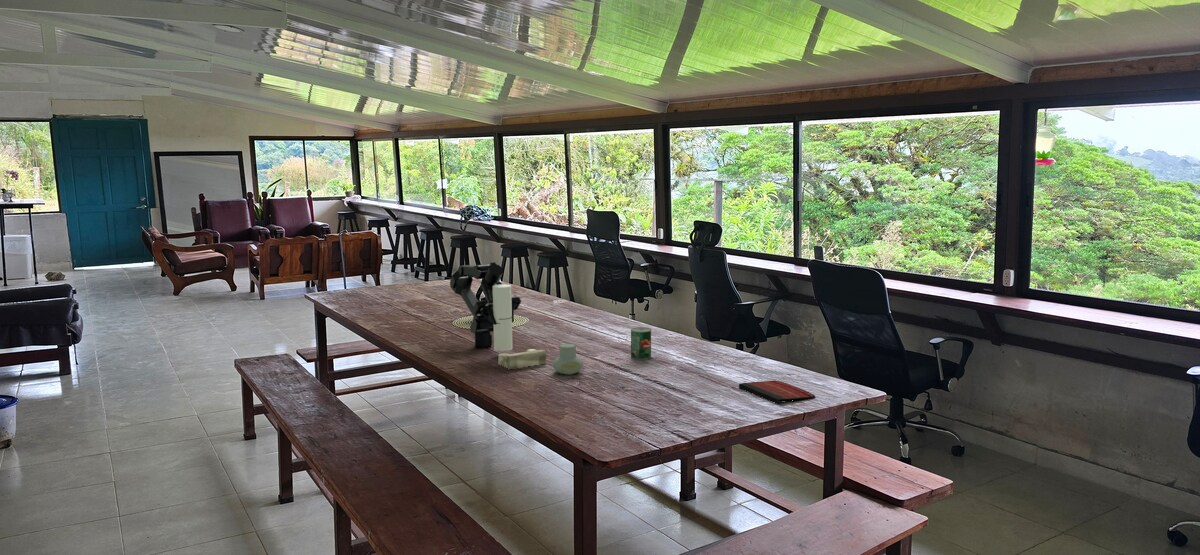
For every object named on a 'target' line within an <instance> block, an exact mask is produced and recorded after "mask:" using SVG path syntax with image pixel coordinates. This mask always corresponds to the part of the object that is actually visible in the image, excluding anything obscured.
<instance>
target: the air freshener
mask: <svg viewBox="0 0 1200 555" xmlns="http://www.w3.org/2000/svg"><path fill="white" fill-rule="evenodd" d="M583 367H584V362H583V360H582V359H581V358H580V357H579V356H577V346H576V345H575V344H573V343H562V344H560V345H559V356H558V357H556V358H555V359H554V360H553V362H552V368H553V370H554V371H555V372H557V373H559V374H562V375H566V376H570V375H572V376H573V375H574V374H577V373H578V372H580V371H581V370H582V369H583Z"/></svg>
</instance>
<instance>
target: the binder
mask: <svg viewBox="0 0 1200 555" xmlns="http://www.w3.org/2000/svg"><path fill="white" fill-rule="evenodd" d="M740 388H741V389H740ZM738 389H740V390H742V389H744V390H746V391H745V392H747V391H748V393H749V392H750V393H749V394H752V393H753V394H752V395H754V394H755V396H757V397H759V396H760V397H759V398H761V397H763V398H762V399H764V398H765V399H764V400H766V399H767V400H766V401H769V400H770V401H769V402H771V401H772V402H771V403H773V402H775V403H774V404H776V403H777V404H776V405H778V404H779V405H780V402H779V401H787V402H791V401H792V400H793V401H792V402H791V403H796V402H801V401H806V400H812V399H815V398H816V395H815V394H814V393H812V392H810V391H807V390H805V389H802V388H800V387H797V386H794V385H791V384H789V383H787V382H784V381H780V380H765V381H751V382H741V383H739V384H738ZM744 390H743V391H744Z"/></svg>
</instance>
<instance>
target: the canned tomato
mask: <svg viewBox="0 0 1200 555" xmlns="http://www.w3.org/2000/svg"><path fill="white" fill-rule="evenodd" d="M650 357H651V358H652V329H651V328H650V327H641V326H640V327H633V328H631V329H630V359H632V358H634V359H633V360H636V359H646V360H649V359H648V358H650ZM651 358H650V359H651Z"/></svg>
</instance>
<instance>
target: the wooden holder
mask: <svg viewBox="0 0 1200 555" xmlns="http://www.w3.org/2000/svg"><path fill="white" fill-rule="evenodd" d="M546 355H547V352H546V350H545V349H535V348H530V349H526V351H523V352H517V353H511V354H510V353H507V352H503V353H499V354H498V359H497V360H498V365H499V364H500V365H499V366H501V365H502V366H501V367H503V366H504V367H503V368H505V367H506V368H505V369H507V368H508V370H509V369H513V370H517V369H516V368H519V369H523V368H522V367H525V368H529V367H528V366H531V367H535V366H534V365H537V366H542V365H541V364H543V365H546V364H547V356H546Z"/></svg>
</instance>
